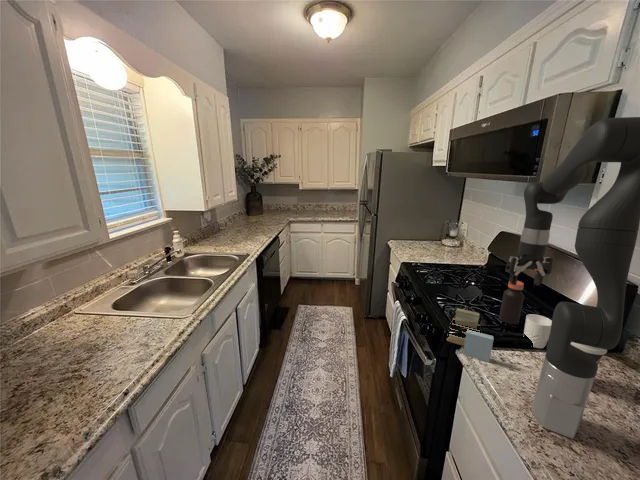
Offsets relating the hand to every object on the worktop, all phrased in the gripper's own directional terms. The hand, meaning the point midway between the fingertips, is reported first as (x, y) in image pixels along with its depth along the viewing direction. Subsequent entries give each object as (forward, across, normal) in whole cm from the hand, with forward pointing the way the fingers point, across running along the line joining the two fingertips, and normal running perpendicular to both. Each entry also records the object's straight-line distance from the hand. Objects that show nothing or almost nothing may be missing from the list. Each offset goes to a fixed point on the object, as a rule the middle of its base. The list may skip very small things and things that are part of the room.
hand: (524, 284), depth 95 cm
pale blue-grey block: (+24, -19, -8) cm, 32 cm away
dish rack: (+24, -17, +3) cm, 29 cm away
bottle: (+24, +5, +10) cm, 26 cm away
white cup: (+24, +8, -1) cm, 25 cm away
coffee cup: (+24, +6, -18) cm, 31 cm away
